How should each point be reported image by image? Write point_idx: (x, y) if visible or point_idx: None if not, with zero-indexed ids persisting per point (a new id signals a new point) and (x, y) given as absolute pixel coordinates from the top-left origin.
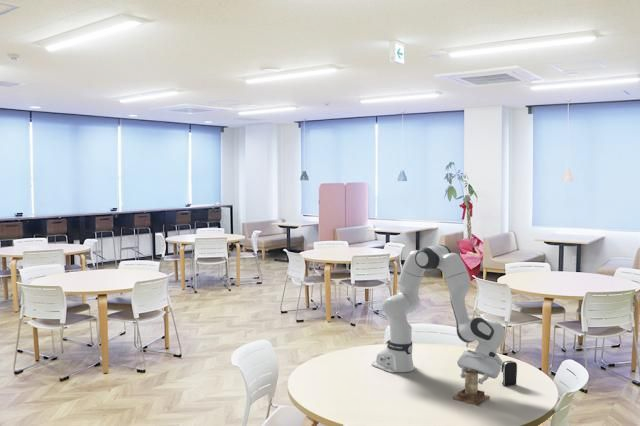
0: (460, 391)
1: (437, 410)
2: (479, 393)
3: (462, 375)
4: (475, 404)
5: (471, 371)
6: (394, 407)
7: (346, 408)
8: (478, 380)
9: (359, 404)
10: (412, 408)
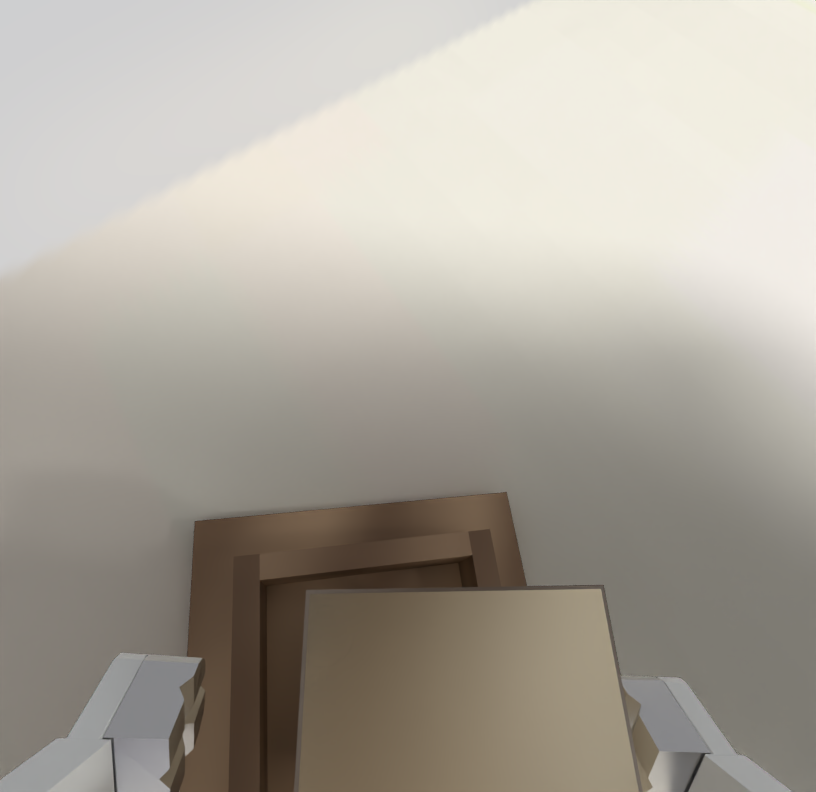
0: (491, 580)
1: (421, 218)
2: (258, 744)
3: (644, 688)
4: (227, 520)
5: (404, 642)
6: (621, 122)
7: (723, 24)
8: (186, 674)
9: (740, 72)
10: (550, 160)
